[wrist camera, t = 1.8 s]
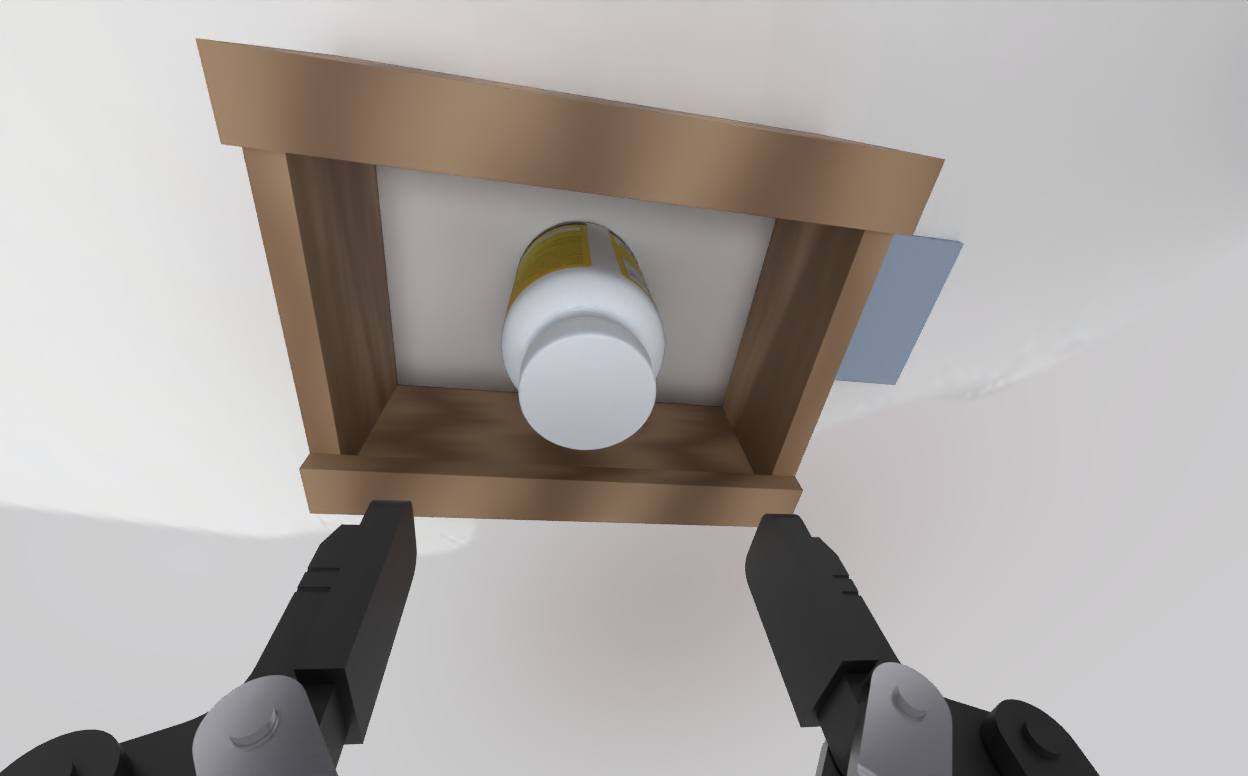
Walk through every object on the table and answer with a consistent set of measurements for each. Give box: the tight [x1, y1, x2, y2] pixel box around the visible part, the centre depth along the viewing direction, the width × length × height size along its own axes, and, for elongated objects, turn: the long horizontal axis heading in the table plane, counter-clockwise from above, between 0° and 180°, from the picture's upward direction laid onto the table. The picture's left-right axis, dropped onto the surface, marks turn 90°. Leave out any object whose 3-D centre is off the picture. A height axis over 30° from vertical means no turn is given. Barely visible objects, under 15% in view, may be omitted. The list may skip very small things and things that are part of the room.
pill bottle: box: [501, 222, 665, 450], centre depth 22 cm, size 6×6×12 cm
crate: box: [196, 38, 945, 527], centre depth 23 cm, size 22×17×9 cm
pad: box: [835, 234, 964, 385], centre depth 29 cm, size 9×9×1 cm
